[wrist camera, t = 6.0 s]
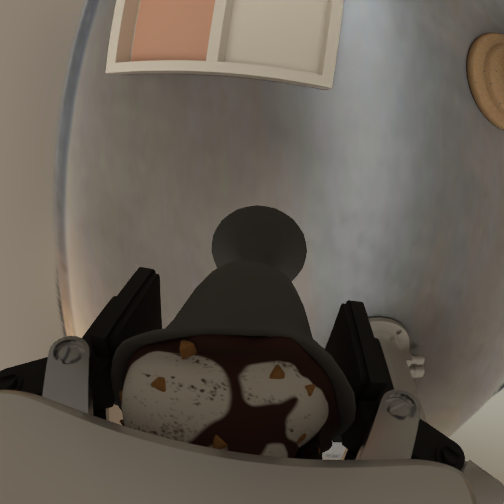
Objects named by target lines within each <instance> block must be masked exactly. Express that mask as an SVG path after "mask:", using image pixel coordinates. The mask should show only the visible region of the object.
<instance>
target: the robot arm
mask: <svg viewBox="0 0 504 504" xmlns="http://www.w3.org/2000/svg"><path fill="white" fill-rule="evenodd" d="M157 329H162V320H161V300H160V276H159V274H156V273H155V270H154V269H149V268H143V267H140V268H138V270H137V271H136V272H135V273H134V275H133V276H132V277H131V279H130V280H129V281H128V282H127V284H126V285H125V286H124V288H123V289H122V290H121V291H120V293H119V294H118V295H117V296H114V297H113V298H112V299H111V300H110V301H109V302H108V304H107V305H106V306H105V308H104V309H103V310H102V312H101V313H100V314H99V316H98V317H97V318H96V320H95V321H94V322H93V324H92V325H91V326H90V328H89V329H88V331H87V332H86V333H85V335H84V336H83V337H82V338H79V337H76V336H67V337H63V338H61V339H58V340H57V341H56V342H54V343H53V345H52V346H51V347H50V350H49V354H48V357H46V358H43V359H39V360H36V361H32V362H29V363H25V364H21V365H18V366H14V367H10V368H6V369H4V370H2V371H0V504H503V502H504V485H503V484H502V483H501V482H500V481H499V480H497V479H496V478H494V477H493V476H492V475H490V474H489V473H487V472H486V471H485V470H483V469H482V468H480V467H479V466H478V465H476V464H475V463H473V462H472V461H471V460H469V461H467V462H466V461H465V456H464V453H463V451H462V449H461V447H460V446H459V445H458V444H457V443H455V442H454V441H452V440H451V439H449V438H448V437H446V436H445V435H444V434H442V433H441V432H439V431H438V430H436V429H435V428H433V427H432V426H430V425H429V424H428V423H427V421H426V417H425V414H424V411H423V408H422V405H421V401H420V398H419V395H418V392H417V389H416V386H415V384H414V381H413V378H422V377H423V375H424V372H425V369H424V366H421V365H412V366H410V365H411V364H424V361H425V357H424V355H415V356H412V354H410V352H409V347H410V339H409V336H408V333H407V331H406V330H405V328H404V327H403V326H402V325H401V324H400V323H398V322H397V321H395V320H392V319H389V318H381V317H377V318H368V316H367V313H366V310H365V307H364V304H363V302H357V301H349V300H348V301H347V302H346V304H342V305H341V307H340V310H339V313H338V315H337V318H336V321H335V324H334V327H333V329H332V332H331V335H330V338H329V340H328V343H327V346H326V348H325V350H326V351H327V352H328V353H329V354H330V355H331V356H332V357H333V359H334V360H335V362H336V363H337V364H338V366H339V367H340V369H341V370H342V372H343V373H344V375H345V376H346V378H347V380H348V382H349V384H350V386H351V388H352V390H353V392H354V396H355V404H356V413H355V420H354V422H353V423H352V425H351V426H350V427H349V429H348V430H347V431H345V432H344V433H343V434H342V435H341V436H339V437H337V438H335V439H334V440H333V442H342V445H343V446H344V447H346V449H345V452H344V454H343V456H342V458H341V460H314V459H296V458H283V457H272V456H262V455H254V454H246V453H239V452H232V451H226V450H220V449H215V448H209V447H204V446H199V445H194V444H189V443H185V442H181V441H176V440H172V439H168V438H164V437H160V436H156V435H153V434H149V433H145V432H142V431H139V430H135V429H132V428H129V427H125V426H122V425H119V424H116V423H113V422H110V421H109V408H110V407H112V406H113V405H114V404H115V405H117V403H116V400H115V397H114V393H113V390H112V384H111V374H110V373H111V366H112V360H113V357H114V354H115V352H116V349H117V348H118V347H119V346H120V344H121V343H122V342H123V341H124V340H126V339H129V338H131V337H133V336H136V335H139V334H142V333H145V332H149V331H152V330H157Z"/></svg>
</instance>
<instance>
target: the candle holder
mask: <svg viewBox="0 0 504 504" xmlns="http://www.w3.org/2000/svg"><path fill="white" fill-rule="evenodd" d="M467 73H468V80H469V85H470V89H471V92H472V95H473V97H474V99H475V101H476V103H477V105H478V107H479V109H480V110H481V112H482V113H483V114H484V116H485V117H486V118H487V119H488V120H489V121H490V122H491V123H492V124H494V125H495V126H497V127H498V128H500V129H502V130H504V35H502V34H499V33H487V34H484V35H482V36H480V37H479V38H477V39H476V40H475V42H474V43H473V44H472V46H471V48H470V51H469V54H468V60H467Z"/></svg>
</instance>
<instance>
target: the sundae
mask: <svg viewBox="0 0 504 504" xmlns="http://www.w3.org/2000/svg"><path fill="white" fill-rule="evenodd" d="M306 253H307V249H306V242H305V238H304V234H303V233H302V231H301V229H300V228H299V226H298V225H297V224H296V222H295V221H294V220H293V219H292V218H290V217H289V216H288V215H286V214H285V213H283V212H281V211H279V210H277V209H275V208H270V207H266V206H257V205H256V206H250V207H245V208H241V209H238V210H236V211H234V212H232V213H231V214H229V215H228V216H227V217H225V218H224V219H223V220H222V221H221V223H220V224H219V226H218V227H217V229H216V231H215V233H214V235H213V241H212V254H213V258H214V261H215V263H216V266H217V269H216V270H214V271H213V272H211V273H210V274H209V275H208V276H207V277H206V278H205V279H204V280H203V282H202V283H201V284H200V285H199V286H198V287H197V288H196V289H195V290H194V291H193V293H192V294H191V296H190V297H189V298H188V300H187V301H186V303H185V304H184V306H183V307H182V308H181V310H180V311H179V313H178V314H177V316H176V317H175V318H174V320H173V321H172V322H171V323H170V324H169V325H168V326H167V327H166V328H165V329H157V330H152V331H149V332H145V333H142V334H139V335H136V336H133V337H131V338H129V339H126V340H124V341H123V342H122V343H121V344H120V346H119V347H118V348H117V349H116V352H115V354H114V357H113V360H112V366H111V373H110V374H111V384H112V390H113V393H114V397H115V400H116V403H117V405H118V406H119V408H120V409H121V411H122V413H123V420H120V422H121V424H122V425H123V426H125V427H129V428H132V429H135V430H139V431H142V432H145V433H149V434H153V435H156V436H160V437H164V438H168V439H172V440H176V441H181V442H185V443H189V444H194V445H199V446H204V447H209V448H215V449H220V450H226V451H232V452H239V453H246V454H254V455H262V456H272V457H283V458H296V459H314V460H322V453H323V452H325V451H327V450H329V449H330V448H331V446H332V440H334V439H335V438H337V437H339V436H341V435H342V434H343V433H344V432H345V431H347V430H348V429H349V427H350V426H351V425H352V423H353V422H354V420H355V413H356V404H355V396H354V392H353V390H352V388H351V386H350V384H349V382H348V380H347V378H346V376H345V375H344V373H343V372H342V370H341V369H340V367H339V366H338V364H337V363H336V362H335V360H334V359H333V357H332V356H331V355H330V354H329V353H328V352H327V351H326V350H325V349H323V348H322V347H321V346H320V345H319V344H318V343H317V342H316V341H315V340H313V338H312V334H311V330H310V327H309V323H308V320H307V316H306V312H305V309H304V306H303V304H302V302H301V299H300V297H299V295H298V293H297V291H296V289H295V287H294V286H293V284H292V282H291V281H292V280H293V279H294V278H295V277H296V276H297V275H298V274H299V272H300V271H301V269H302V268H303V265H304V262H305V259H306Z"/></svg>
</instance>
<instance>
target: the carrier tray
mask: <svg viewBox="0 0 504 504" xmlns="http://www.w3.org/2000/svg"><path fill="white" fill-rule="evenodd" d="M343 2H344V0H117V1H116V6H115V11H114V17H113V22H112V28H111V35H110V41H109V48H108V56H107V65H106V73H110V74H121V75H130V74H200V75H218V76H231V77H242V78H251V79H260V80H268V81H275V82H282V83H289V84H295V85H301V86H306V87H312V88H317V89H322V90H328V89H331V88H332V85H333V78H334V72H335V65H336V58H337V51H338V43H339V35H340V28H341V19H342V11H343Z"/></svg>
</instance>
